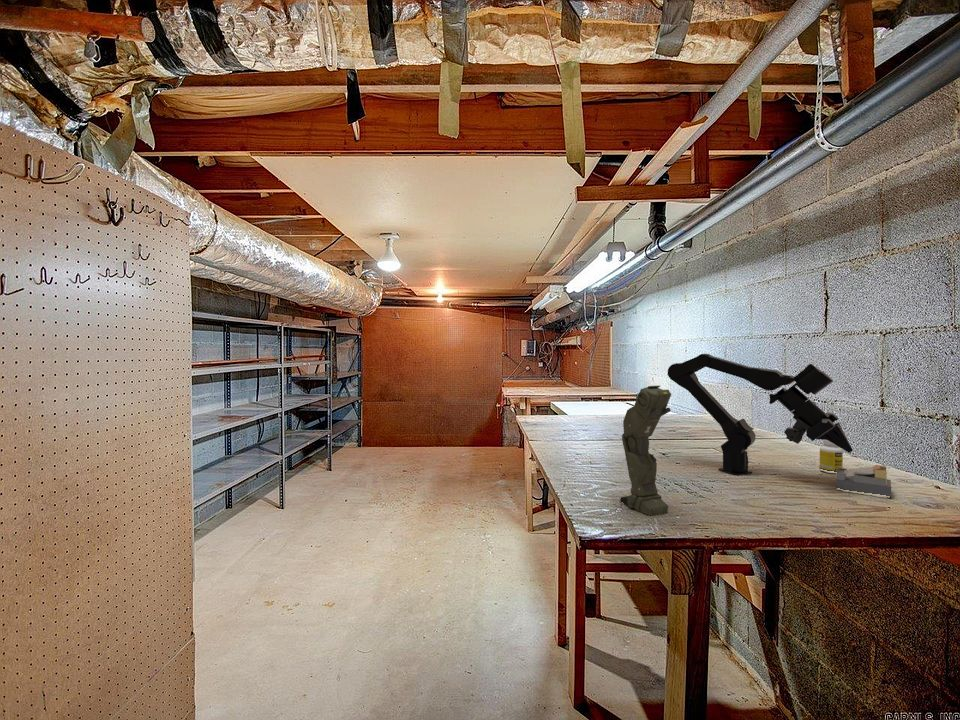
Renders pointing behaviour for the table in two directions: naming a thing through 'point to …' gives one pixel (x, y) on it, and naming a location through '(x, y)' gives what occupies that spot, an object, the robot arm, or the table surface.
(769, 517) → the table surface
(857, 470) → the beige flat panel
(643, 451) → the mechanical leg
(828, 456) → the supplement bottle
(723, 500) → the table surface
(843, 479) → the grey tray
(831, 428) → the robot arm
